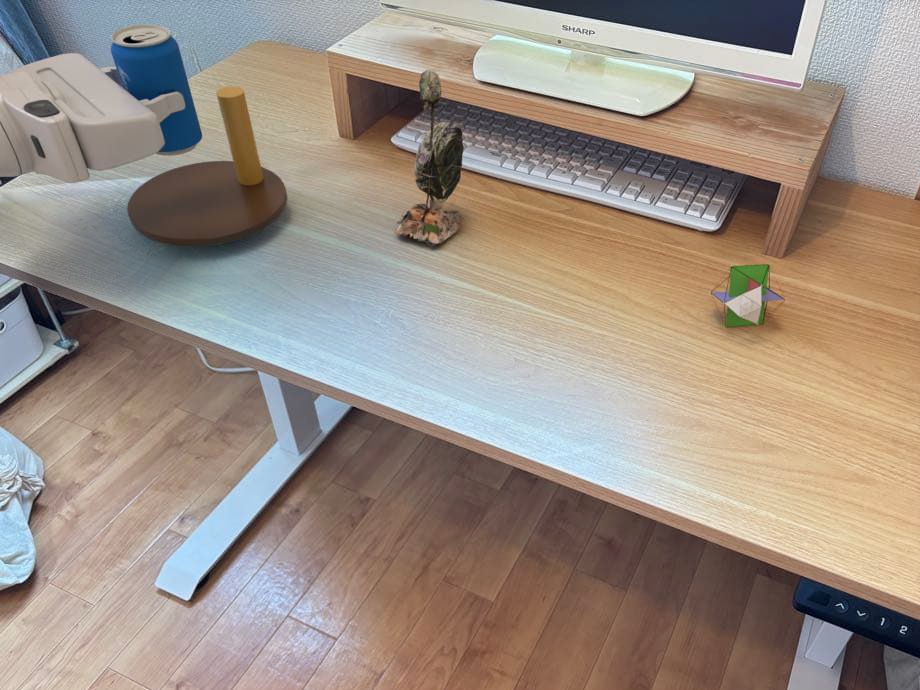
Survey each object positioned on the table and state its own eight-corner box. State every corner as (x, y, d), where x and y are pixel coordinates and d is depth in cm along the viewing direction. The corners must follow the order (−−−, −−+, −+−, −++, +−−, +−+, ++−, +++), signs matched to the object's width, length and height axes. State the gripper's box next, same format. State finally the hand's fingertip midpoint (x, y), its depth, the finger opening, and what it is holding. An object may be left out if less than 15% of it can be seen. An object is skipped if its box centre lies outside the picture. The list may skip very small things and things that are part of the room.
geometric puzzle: (700, 276, 88) (725, 252, 80) (759, 273, 89) (789, 249, 81) (708, 339, 87) (733, 321, 80) (767, 335, 88) (798, 317, 80)
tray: (100, 205, 94) (61, 107, 86) (231, 153, 104) (207, 61, 96) (185, 266, 86) (151, 165, 78) (318, 204, 96) (301, 108, 88)
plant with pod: (486, 213, 100) (485, 51, 86) (432, 255, 93) (421, 86, 79) (434, 194, 103) (425, 34, 88) (378, 233, 96) (358, 66, 81)
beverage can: (131, 144, 89) (94, 33, 80) (184, 126, 92) (154, 18, 84) (162, 165, 86) (126, 51, 77) (215, 145, 89) (187, 35, 81)
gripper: (5, 114, 85) (132, 82, 92) (80, 191, 75) (217, 148, 82) (-22, 55, 81) (114, 26, 88) (55, 128, 71) (201, 88, 78)
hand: (164, 85), depth 85 cm, fingers closed on beverage can, 6 cm apart
